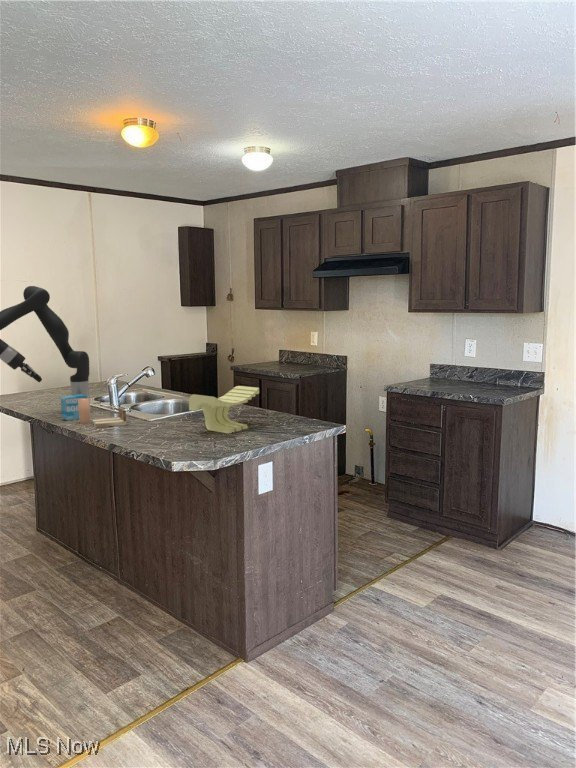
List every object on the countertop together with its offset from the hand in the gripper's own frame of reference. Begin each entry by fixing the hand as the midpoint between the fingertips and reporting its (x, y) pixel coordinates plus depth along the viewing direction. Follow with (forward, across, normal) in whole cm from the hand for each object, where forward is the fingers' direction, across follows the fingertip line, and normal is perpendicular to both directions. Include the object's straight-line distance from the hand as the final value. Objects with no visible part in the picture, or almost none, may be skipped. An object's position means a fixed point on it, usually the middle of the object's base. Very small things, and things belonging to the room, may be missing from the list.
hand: (40, 379), depth 280 cm
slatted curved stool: (+69, -49, -37) cm, 93 cm away
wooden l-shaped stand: (+36, -12, -4) cm, 38 cm away
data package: (+27, +11, +5) cm, 30 cm away
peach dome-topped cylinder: (+29, -2, +3) cm, 29 cm away
